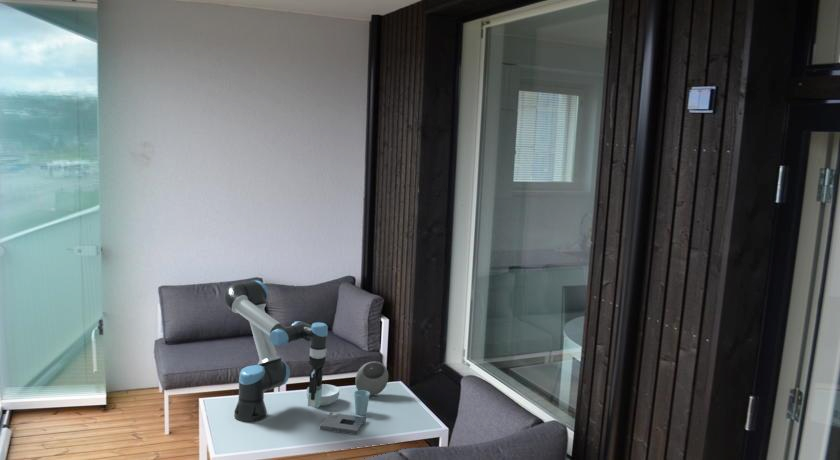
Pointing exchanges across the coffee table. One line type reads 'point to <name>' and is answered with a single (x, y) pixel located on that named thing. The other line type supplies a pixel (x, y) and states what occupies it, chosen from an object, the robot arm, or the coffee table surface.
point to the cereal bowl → (327, 394)
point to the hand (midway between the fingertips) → (314, 403)
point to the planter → (372, 378)
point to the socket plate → (343, 423)
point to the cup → (361, 401)
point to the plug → (318, 397)
